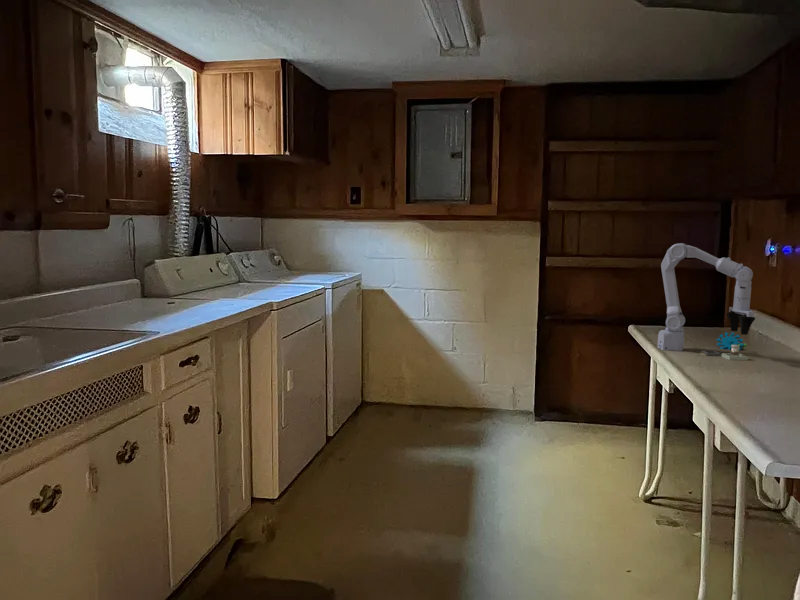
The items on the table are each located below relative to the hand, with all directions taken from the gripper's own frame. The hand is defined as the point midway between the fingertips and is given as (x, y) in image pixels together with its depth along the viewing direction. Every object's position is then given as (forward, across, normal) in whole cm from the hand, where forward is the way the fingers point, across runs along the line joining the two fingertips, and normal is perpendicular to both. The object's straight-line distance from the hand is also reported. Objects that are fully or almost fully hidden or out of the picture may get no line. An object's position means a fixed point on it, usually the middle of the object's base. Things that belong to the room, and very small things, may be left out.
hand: (739, 332), depth 263 cm
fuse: (+10, -5, +4) cm, 12 cm away
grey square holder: (+10, +2, +10) cm, 14 cm away
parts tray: (+10, -5, +4) cm, 12 cm away
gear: (+11, +16, -6) cm, 20 cm away
